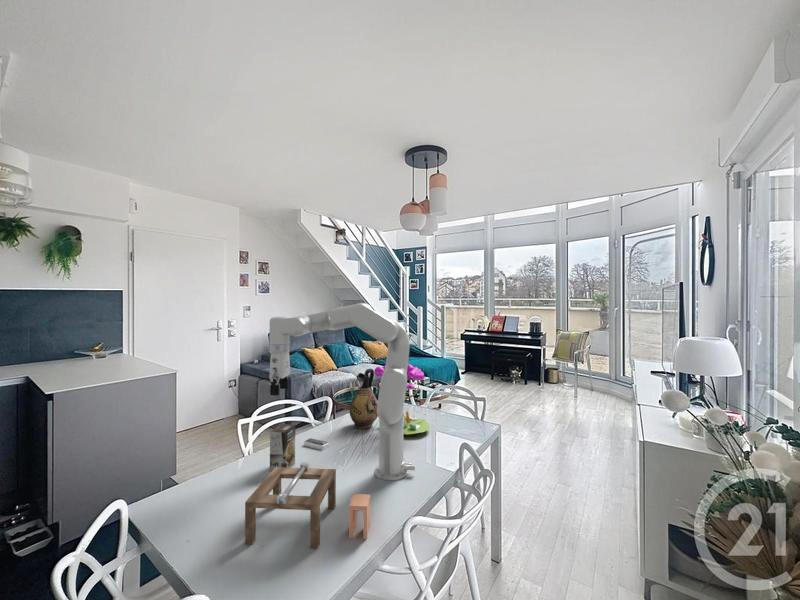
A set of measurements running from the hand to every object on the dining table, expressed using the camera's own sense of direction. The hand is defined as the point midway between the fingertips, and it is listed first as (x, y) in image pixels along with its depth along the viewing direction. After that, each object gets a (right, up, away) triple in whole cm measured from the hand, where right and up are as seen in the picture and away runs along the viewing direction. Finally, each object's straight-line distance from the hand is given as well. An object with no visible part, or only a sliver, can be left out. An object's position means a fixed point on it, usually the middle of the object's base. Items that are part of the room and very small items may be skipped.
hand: (279, 391), depth 140 cm
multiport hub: (+9, -31, +22) cm, 39 cm away
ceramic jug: (+29, -31, +49) cm, 65 cm away
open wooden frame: (+16, -31, -34) cm, 49 cm away
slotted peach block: (+36, -31, -37) cm, 60 cm away
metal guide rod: (+16, -19, -34) cm, 42 cm away
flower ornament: (+49, -31, +45) cm, 73 cm away
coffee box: (+1, -31, +1) cm, 31 cm away
